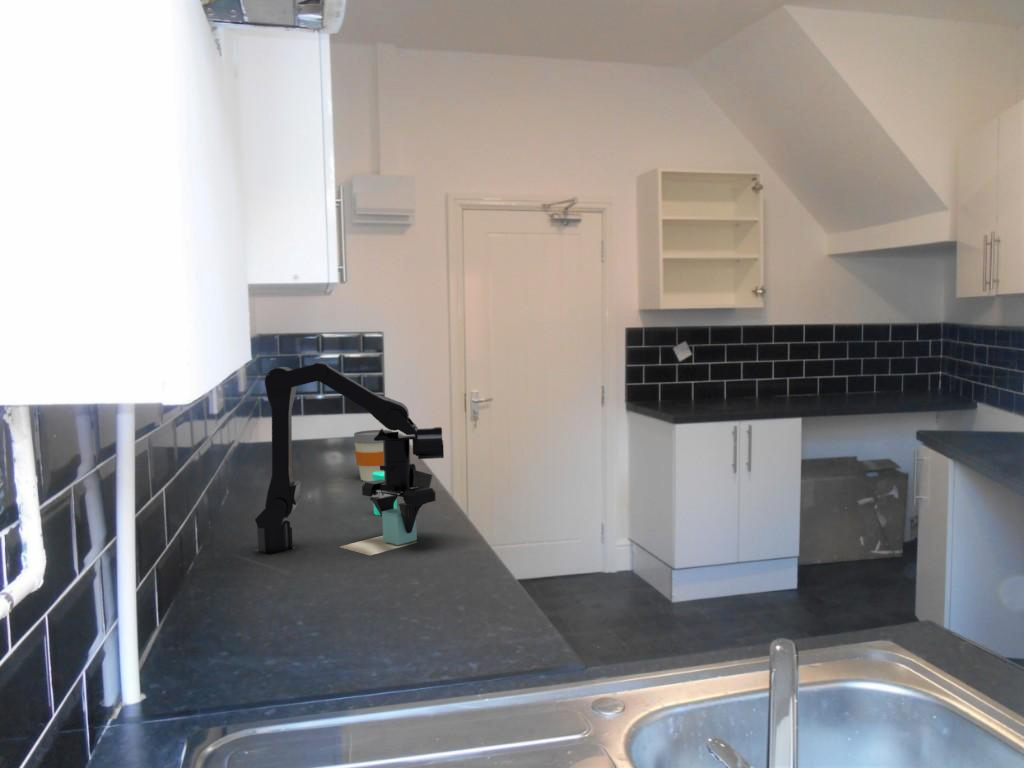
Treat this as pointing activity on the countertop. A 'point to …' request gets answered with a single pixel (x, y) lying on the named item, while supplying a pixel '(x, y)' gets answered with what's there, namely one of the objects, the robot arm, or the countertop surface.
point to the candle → (377, 477)
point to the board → (373, 546)
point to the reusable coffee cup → (368, 453)
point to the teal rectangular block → (396, 528)
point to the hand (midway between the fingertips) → (399, 530)
